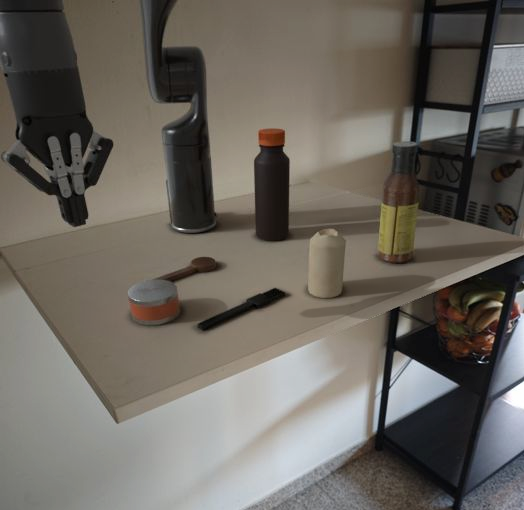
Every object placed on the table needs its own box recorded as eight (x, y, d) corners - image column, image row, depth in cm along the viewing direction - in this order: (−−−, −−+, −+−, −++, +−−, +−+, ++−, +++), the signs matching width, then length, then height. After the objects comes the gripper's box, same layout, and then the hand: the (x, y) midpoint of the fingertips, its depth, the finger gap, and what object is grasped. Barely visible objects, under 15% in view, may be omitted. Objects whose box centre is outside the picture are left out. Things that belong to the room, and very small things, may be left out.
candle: (340, 299, 78) (345, 239, 73) (305, 296, 80) (307, 236, 74) (343, 284, 83) (348, 226, 77) (310, 281, 84) (312, 224, 78)
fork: (205, 332, 71) (205, 328, 71) (194, 326, 73) (194, 321, 72) (285, 295, 80) (286, 291, 80) (274, 290, 82) (274, 286, 81)
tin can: (123, 313, 76) (118, 289, 74) (163, 297, 80) (159, 275, 78) (148, 331, 72) (144, 306, 69) (189, 313, 76) (186, 289, 73)
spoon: (145, 295, 81) (144, 289, 80) (131, 286, 84) (130, 281, 83) (220, 267, 90) (220, 261, 89) (205, 260, 92) (205, 254, 92)
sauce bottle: (414, 254, 93) (432, 140, 82) (407, 266, 88) (426, 148, 77) (379, 248, 95) (393, 138, 84) (371, 261, 91) (384, 145, 80)
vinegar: (269, 244, 98) (268, 136, 87) (249, 234, 103) (245, 130, 92) (295, 236, 102) (297, 130, 91) (274, 227, 106) (274, 126, 95)
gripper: (82, 59, 58) (110, 206, 68) (-39, 67, 51) (12, 230, 60) (114, 61, 54) (139, 218, 63) (-14, 70, 46) (36, 247, 56)
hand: (77, 224), depth 62 cm, fingers closed
